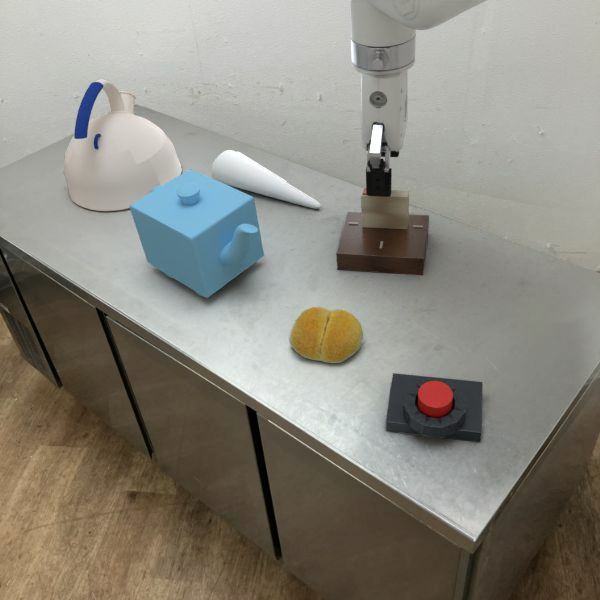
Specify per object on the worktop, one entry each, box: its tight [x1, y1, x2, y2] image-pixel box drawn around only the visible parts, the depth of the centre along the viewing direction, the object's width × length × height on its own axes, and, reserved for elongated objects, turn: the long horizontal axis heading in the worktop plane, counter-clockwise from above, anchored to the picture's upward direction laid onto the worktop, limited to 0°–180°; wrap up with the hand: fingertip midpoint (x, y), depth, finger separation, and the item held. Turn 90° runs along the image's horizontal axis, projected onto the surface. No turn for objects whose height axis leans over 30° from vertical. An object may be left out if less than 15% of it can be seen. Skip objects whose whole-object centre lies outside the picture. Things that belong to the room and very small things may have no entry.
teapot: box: [129, 168, 265, 299], centre depth 89 cm, size 22×11×14 cm, turn 48°
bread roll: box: [288, 306, 364, 364], centre depth 80 cm, size 8×9×4 cm
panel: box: [335, 211, 430, 276], centre depth 94 cm, size 12×12×3 cm
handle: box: [360, 187, 410, 229], centre depth 91 cm, size 6×2×6 cm, turn 78°
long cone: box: [210, 149, 322, 210], centre depth 106 cm, size 6×6×19 cm
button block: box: [385, 373, 483, 443], centre depth 71 cm, size 10×8×4 cm
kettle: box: [63, 78, 183, 212], centre depth 110 cm, size 20×21×18 cm
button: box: [418, 381, 453, 418], centre depth 69 cm, size 4×4×2 cm
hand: (383, 174), depth 88 cm, fingers open, 9 cm apart
